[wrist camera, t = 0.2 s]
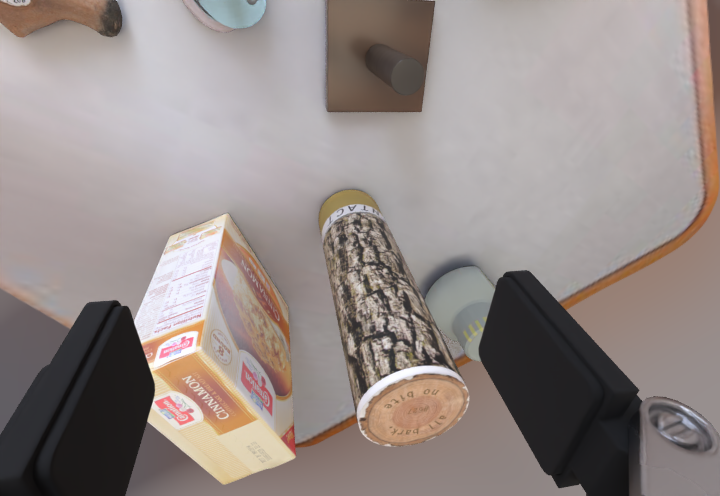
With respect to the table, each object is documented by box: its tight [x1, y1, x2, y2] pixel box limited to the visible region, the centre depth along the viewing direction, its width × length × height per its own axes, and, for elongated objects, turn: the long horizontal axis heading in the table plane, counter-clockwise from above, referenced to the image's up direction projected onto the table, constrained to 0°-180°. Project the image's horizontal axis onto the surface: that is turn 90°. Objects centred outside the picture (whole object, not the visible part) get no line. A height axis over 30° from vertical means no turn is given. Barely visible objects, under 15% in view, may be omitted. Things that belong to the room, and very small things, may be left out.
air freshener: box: [425, 266, 495, 361], centre depth 49 cm, size 11×8×10 cm
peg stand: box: [326, 0, 435, 112], centre depth 32 cm, size 9×9×10 cm
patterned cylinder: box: [319, 190, 469, 446], centre depth 34 cm, size 7×7×25 cm
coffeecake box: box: [134, 213, 296, 485], centre depth 37 cm, size 15×7×20 cm, turn 19°
